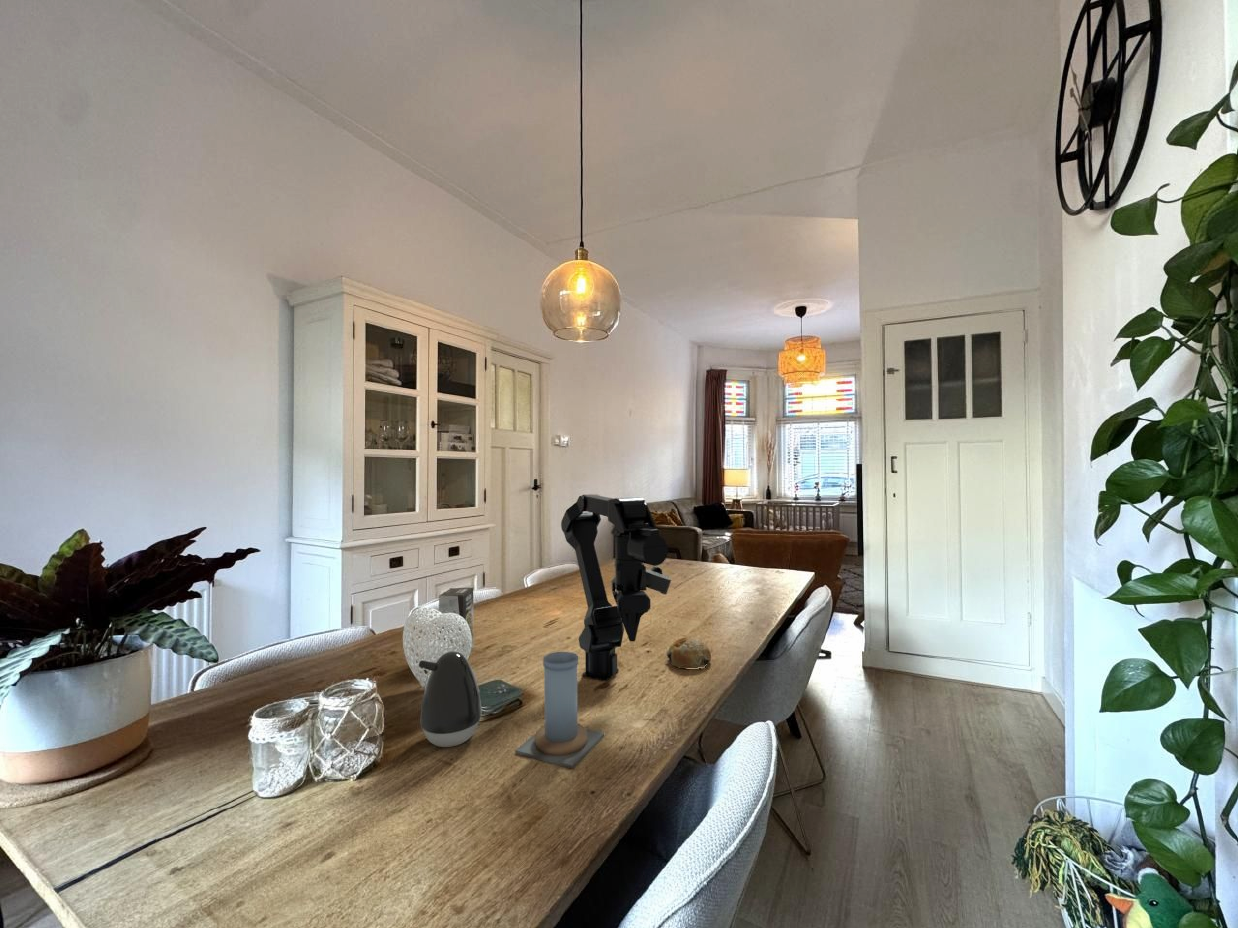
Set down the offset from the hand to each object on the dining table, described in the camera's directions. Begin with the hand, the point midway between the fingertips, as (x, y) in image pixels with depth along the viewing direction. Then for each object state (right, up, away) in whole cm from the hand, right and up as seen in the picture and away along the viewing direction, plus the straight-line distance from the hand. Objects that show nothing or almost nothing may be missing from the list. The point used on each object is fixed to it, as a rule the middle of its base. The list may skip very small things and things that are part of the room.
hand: (629, 633), depth 106 cm
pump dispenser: (-32, -13, -16) cm, 38 cm away
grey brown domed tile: (-12, -13, -18) cm, 25 cm away
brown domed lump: (+15, -14, +18) cm, 27 cm away
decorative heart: (-41, -14, +4) cm, 44 cm away
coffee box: (-44, -14, +26) cm, 53 cm away
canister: (-12, -11, -18) cm, 24 cm away
